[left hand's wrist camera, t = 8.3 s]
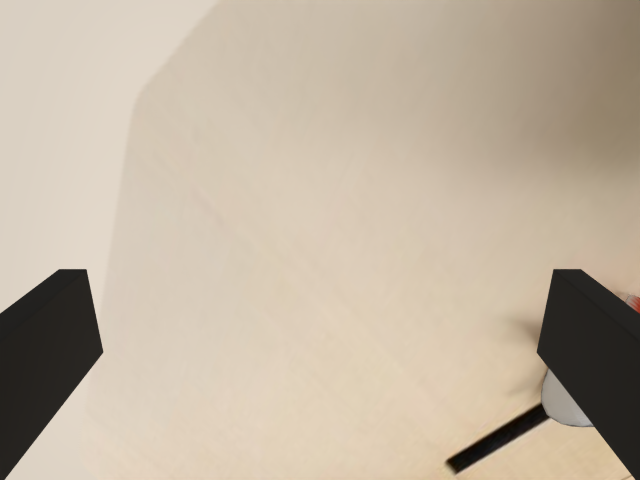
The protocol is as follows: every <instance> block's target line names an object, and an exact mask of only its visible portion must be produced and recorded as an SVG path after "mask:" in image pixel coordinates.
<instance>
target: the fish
mask: <svg viewBox="0 0 640 480" xmlns="http://www.w3.org/2000/svg"><path fill="white" fill-rule="evenodd" d="M626 304H628V305H629V306H630V307H632V308H633V309H634V310H636V311H637V312H638V313H640V298H639V297H636V296H633V295H629V296H628V298H627V300H626ZM541 402H542V405H543V407H544V409H545V411H546V413H547V415H548V416H550V417H551V418H552V419H554V420H555V421H557V422H559V423H561V424H564V425H568V426H575V427H594V426H593V424H592V423H591V422H590V420H589V419H588V418H587V417H586V415H585V414H584V413H583V411H582V410H581V409H580V408H579V406H578V405H577V404H576V402H575V401H574V400H573V399H572V397H571V396H570V395H569V393H568V392H567V391H566V390H565V388H564V387H563V386H562V384H561V383H560V382H559V380H558V379H557V378H556V377H555V375H554V374H553V373H552V371H551V370H550V369H548V371H547V373H546V375H545V378H544V382H543V385H542V391H541Z"/></svg>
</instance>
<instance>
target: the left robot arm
mask: <svg viewBox="0 0 640 480" xmlns="http://www.w3.org/2000/svg"><path fill="white" fill-rule="evenodd" d="M102 353H103V348H102V343H101V338H100V334H99V329H98V324H97V319H96V314H95V309H94V304H93V299H92V294H91V289H90V284H89V280H88V275H87V270H86V269H59V270H58V271H56V272H55V273H54V274H52V275H51V276H50V277H48V278H47V279H46V280H44V281H43V282H42V283H40V284H39V285H38V286H36V287H35V288H34V289H32V290H31V291H30V292H28V293H27V294H26V295H24V296H23V297H22V298H20V299H19V300H18V301H16V302H15V303H14V304H12V305H11V306H10V307H8V308H7V309H6V310H4V311H3V312H2V313H0V480H5V478H6V477H7V476H8V475H9V473H10V472H11V471H12V469H13V468H14V467H15V465H16V464H17V463H18V462H19V460H20V459H21V458H22V456H23V455H24V454H25V453H26V451H27V450H28V449H29V447H30V446H31V445H32V444H33V442H34V441H35V440H36V438H37V437H38V436H39V435H40V433H41V432H42V431H43V429H44V428H45V427H46V426H47V424H48V423H49V422H50V420H51V419H52V418H53V417H54V415H55V414H56V413H57V411H58V410H59V409H60V408H61V406H62V405H63V404H64V402H65V401H66V400H67V399H68V397H69V396H70V395H71V393H72V392H73V391H74V389H75V388H76V387H77V386H78V384H79V383H80V382H81V380H82V379H83V378H84V377H85V375H86V374H87V373H88V371H89V370H90V369H91V368H92V366H93V365H94V364H95V362H96V361H97V360H98V359H99V357H100V356H101V355H102ZM537 353H538V355H539V356H540V357H541V359H542V360H543V361H544V362H545V364H546V365H547V366H548V368H549V369H550V370H551V371H552V373H553V374H554V375H555V377H556V378H557V379H558V380H559V382H560V383H561V384H562V386H563V387H564V388H565V390H566V391H567V392H568V393H569V395H570V396H571V397H572V399H573V400H574V401H575V402H576V404H577V405H578V406H579V408H580V409H581V410H582V411H583V413H584V414H585V415H586V417H587V418H588V419H589V420H590V422H591V423H592V424H593V426H594V427H595V428H596V429H597V431H598V432H599V433H600V435H601V436H602V437H603V438H604V440H605V441H606V442H607V444H608V445H609V446H610V447H611V449H612V450H613V451H614V453H615V454H616V455H617V457H618V458H619V459H620V460H621V462H622V463H623V464H624V466H625V467H626V468H627V469H628V471H629V472H630V473H631V475H632V476H633V477H634V478H635V480H640V313H638V312H637V311H636V310H634V309H633V308H632V307H630V306H629V305H628V304H626V303H625V302H624V301H622V300H621V299H620V298H618V297H617V296H616V295H614V294H613V293H612V292H610V291H609V290H608V289H606V288H605V287H604V286H602V285H601V284H600V283H598V282H597V281H596V280H594V279H593V278H592V277H590V276H589V275H588V274H586V273H585V272H584V271H582V270H581V269H554V270H553V275H552V280H551V284H550V289H549V294H548V299H547V304H546V309H545V314H544V319H543V324H542V329H541V334H540V338H539V343H538V348H537Z"/></svg>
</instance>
